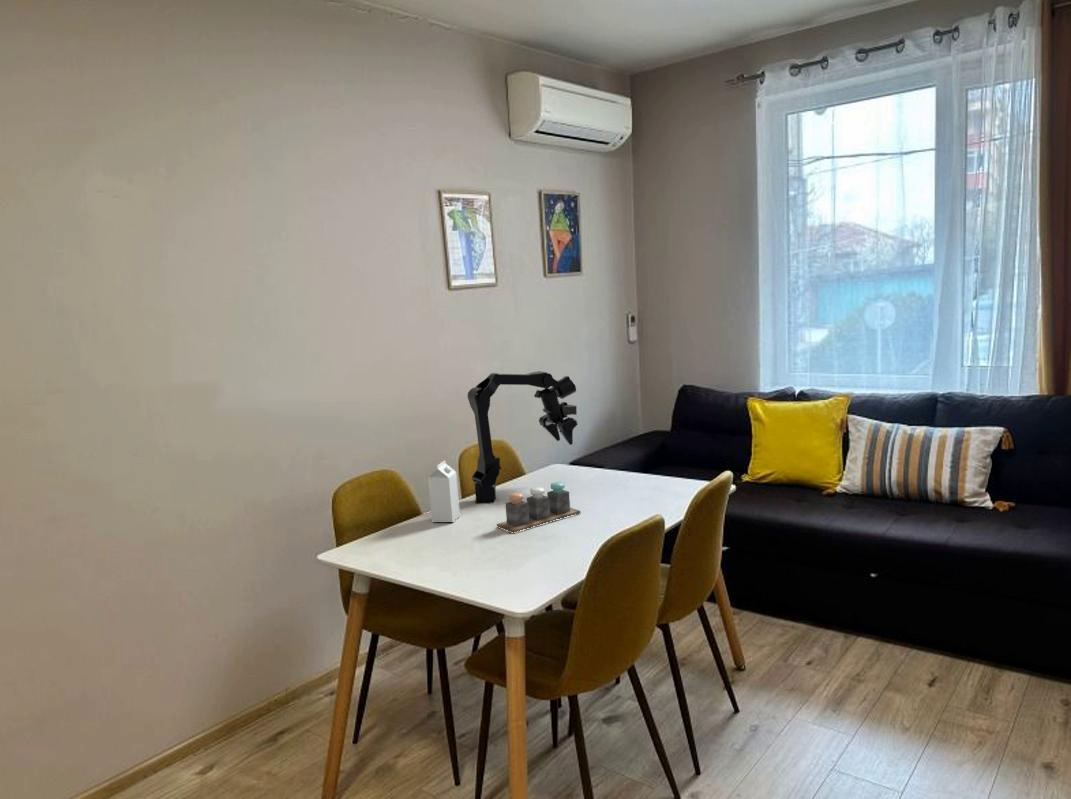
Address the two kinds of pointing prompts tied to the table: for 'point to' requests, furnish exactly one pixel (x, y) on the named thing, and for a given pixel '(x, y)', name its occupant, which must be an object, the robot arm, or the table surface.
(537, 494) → the white button
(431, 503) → the milk carton
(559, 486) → the teal button
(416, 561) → the table surface
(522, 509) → the button stand
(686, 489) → the table surface
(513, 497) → the peach ball
